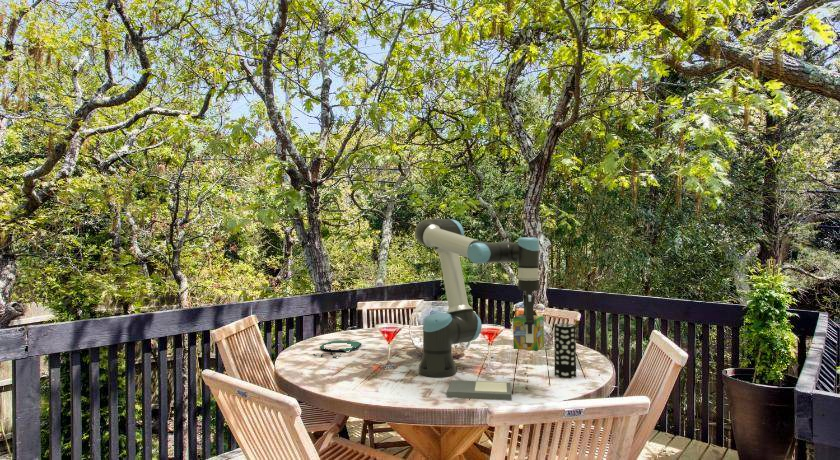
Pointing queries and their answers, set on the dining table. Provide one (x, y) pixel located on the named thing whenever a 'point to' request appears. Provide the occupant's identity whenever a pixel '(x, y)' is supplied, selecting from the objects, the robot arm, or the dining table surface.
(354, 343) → the green piece
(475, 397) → the slate board
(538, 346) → the chalk box
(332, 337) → the dining table surface
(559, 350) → the white-spotted black cylinder
